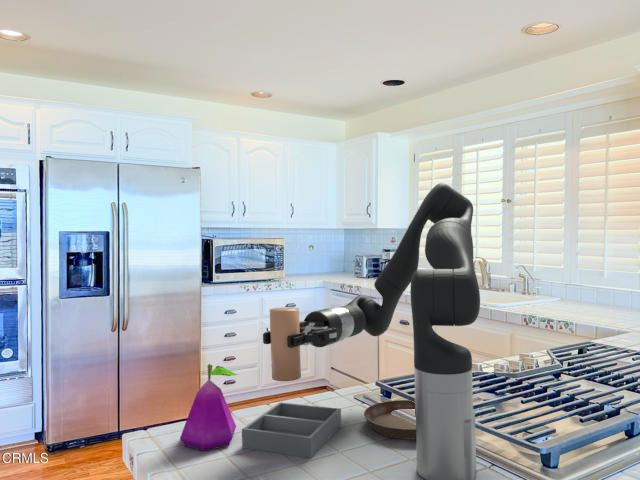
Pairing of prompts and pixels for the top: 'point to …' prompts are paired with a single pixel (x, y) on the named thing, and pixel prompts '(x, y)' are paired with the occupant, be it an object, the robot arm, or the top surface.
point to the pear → (209, 417)
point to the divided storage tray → (292, 429)
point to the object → (391, 419)
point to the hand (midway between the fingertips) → (276, 340)
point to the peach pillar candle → (284, 344)
